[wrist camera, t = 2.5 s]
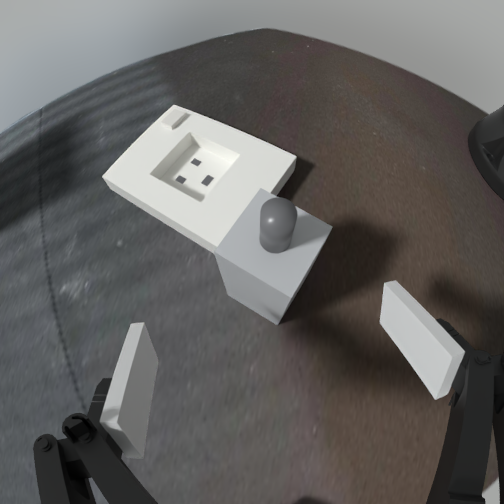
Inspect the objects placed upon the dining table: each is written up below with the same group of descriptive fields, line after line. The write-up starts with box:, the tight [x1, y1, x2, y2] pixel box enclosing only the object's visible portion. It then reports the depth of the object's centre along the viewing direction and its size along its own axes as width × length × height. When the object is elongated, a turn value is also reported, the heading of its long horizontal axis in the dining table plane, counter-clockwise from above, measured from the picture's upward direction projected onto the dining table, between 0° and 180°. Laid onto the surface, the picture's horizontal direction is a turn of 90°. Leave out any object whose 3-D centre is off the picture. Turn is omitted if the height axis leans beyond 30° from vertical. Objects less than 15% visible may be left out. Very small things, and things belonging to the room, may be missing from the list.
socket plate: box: [102, 105, 297, 253], centre depth 30 cm, size 16×12×3 cm
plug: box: [214, 188, 332, 325], centre depth 21 cm, size 6×5×13 cm
